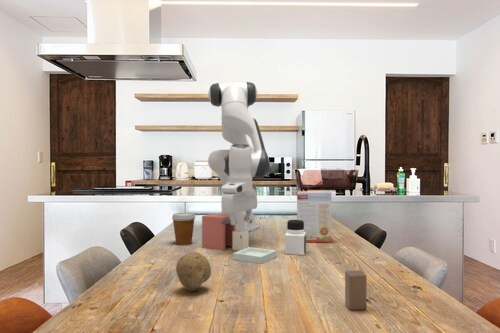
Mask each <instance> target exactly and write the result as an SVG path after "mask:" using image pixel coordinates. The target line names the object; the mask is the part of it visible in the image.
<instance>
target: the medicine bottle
mask: <svg viewBox="0 0 500 333" xmlns="http://www.w3.org/2000/svg"><path fill="white" fill-rule="evenodd" d="M286 225H287V226H286V232H285V234H284V254H285V255H292V254H294V255H295V256H297V255H298V256H305V254H306V250H307V242H306V232H303V231H304V222H303V221H302V220H297V218H296V219H289V220H288V221H287V222H286ZM294 255H293V256H294Z"/></svg>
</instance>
